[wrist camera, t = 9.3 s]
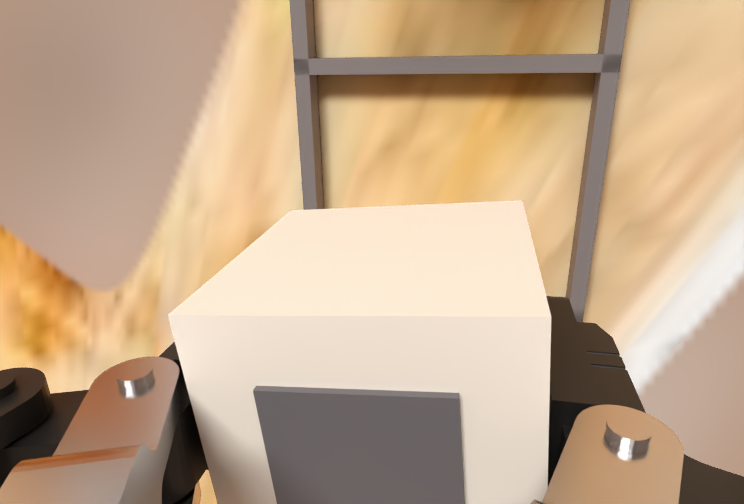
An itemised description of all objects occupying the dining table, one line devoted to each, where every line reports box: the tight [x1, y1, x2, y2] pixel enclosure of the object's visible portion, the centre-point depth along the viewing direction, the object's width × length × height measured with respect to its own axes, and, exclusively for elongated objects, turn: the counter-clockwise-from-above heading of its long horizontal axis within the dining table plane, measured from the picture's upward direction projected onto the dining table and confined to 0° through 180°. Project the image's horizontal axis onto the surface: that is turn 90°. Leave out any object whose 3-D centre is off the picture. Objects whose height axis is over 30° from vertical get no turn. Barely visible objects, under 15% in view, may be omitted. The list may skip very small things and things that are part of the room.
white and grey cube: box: [168, 200, 551, 504], centre depth 10 cm, size 5×5×5 cm
